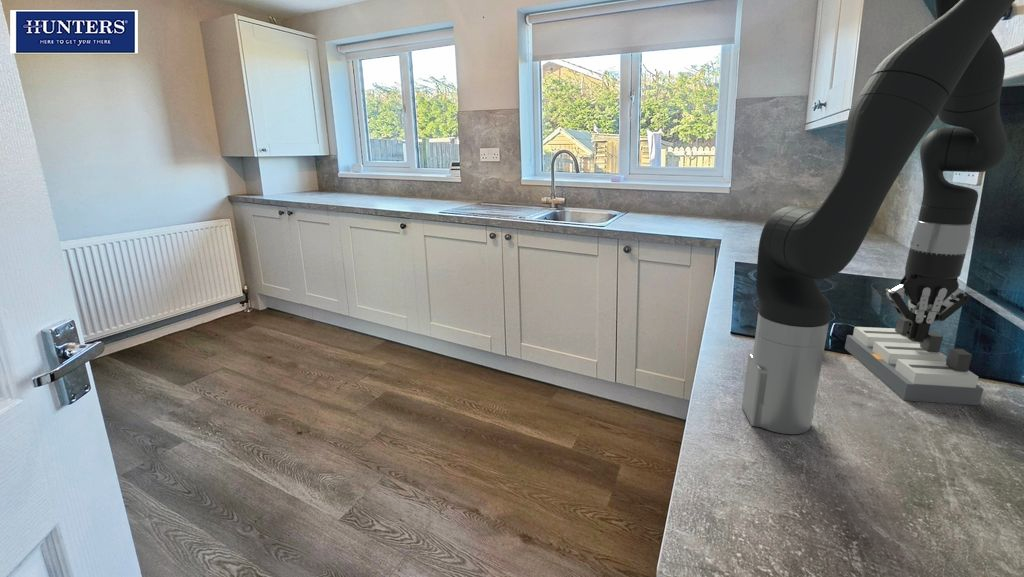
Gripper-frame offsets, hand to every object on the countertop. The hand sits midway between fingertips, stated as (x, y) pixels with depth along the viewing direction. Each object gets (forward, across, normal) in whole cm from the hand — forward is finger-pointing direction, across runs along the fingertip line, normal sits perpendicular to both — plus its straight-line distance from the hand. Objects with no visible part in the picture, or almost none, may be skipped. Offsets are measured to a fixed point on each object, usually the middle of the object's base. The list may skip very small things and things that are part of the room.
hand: (915, 340), depth 90 cm
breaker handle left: (+2, +2, +8) cm, 8 cm away
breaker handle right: (+2, +2, -8) cm, 9 cm away
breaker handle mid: (+2, +2, 0) cm, 3 cm away
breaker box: (+7, -1, 0) cm, 7 cm away
